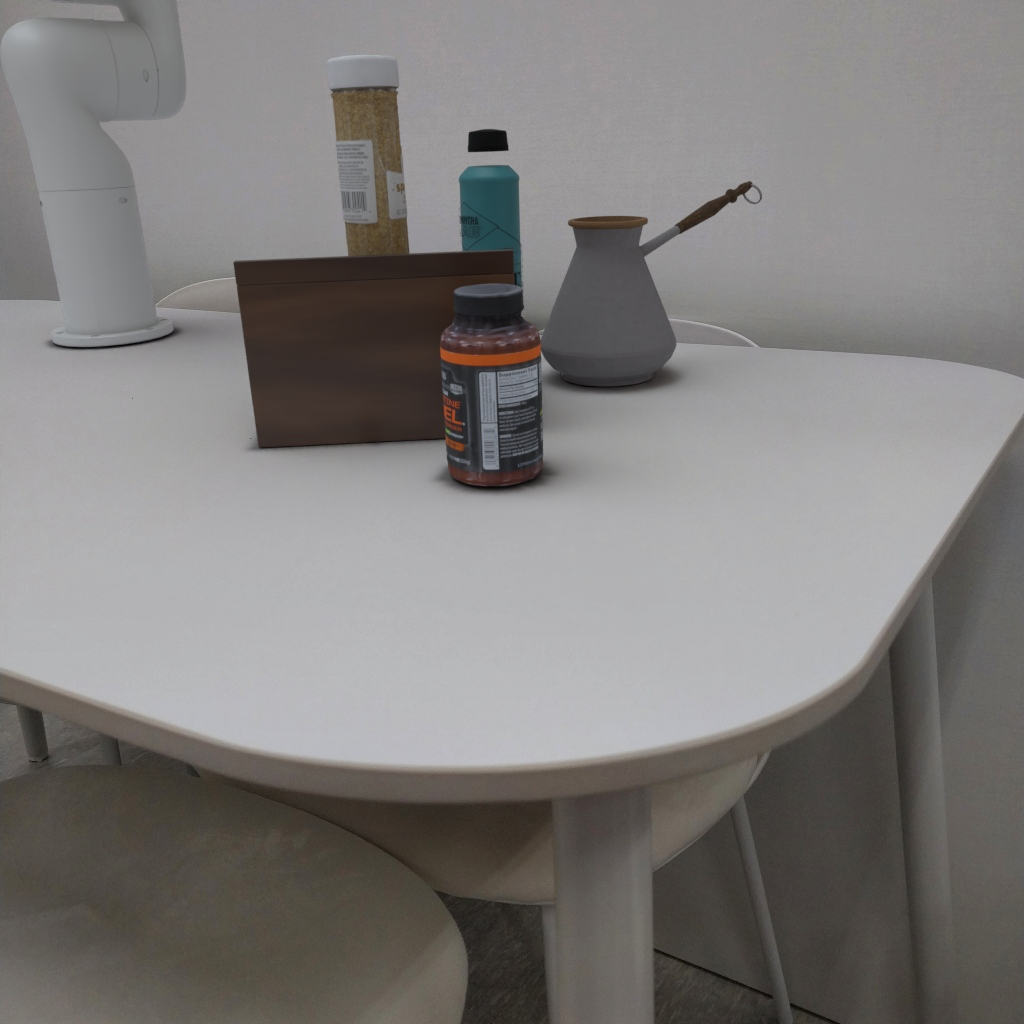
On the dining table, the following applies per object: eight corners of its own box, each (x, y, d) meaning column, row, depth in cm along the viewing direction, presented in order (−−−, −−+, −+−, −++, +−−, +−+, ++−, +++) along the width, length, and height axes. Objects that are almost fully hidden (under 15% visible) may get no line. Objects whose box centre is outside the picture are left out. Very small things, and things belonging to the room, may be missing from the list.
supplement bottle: (434, 467, 61) (422, 286, 57) (520, 453, 63) (514, 277, 59) (468, 496, 56) (457, 299, 52) (560, 480, 58) (557, 289, 54)
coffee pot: (588, 400, 75) (587, 197, 70) (515, 373, 84) (509, 192, 79) (792, 362, 85) (805, 182, 79) (706, 342, 94) (712, 179, 89)
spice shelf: (293, 390, 81) (274, 237, 77) (506, 380, 82) (501, 227, 78) (258, 448, 66) (232, 261, 62) (519, 434, 67) (513, 249, 63)
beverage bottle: (488, 320, 109) (480, 129, 101) (537, 325, 105) (532, 127, 98) (451, 330, 104) (440, 130, 97) (501, 336, 100) (493, 128, 93)
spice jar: (424, 269, 66) (409, 53, 62) (363, 276, 64) (343, 53, 59) (393, 264, 70) (377, 59, 65) (335, 270, 68) (314, 59, 63)
